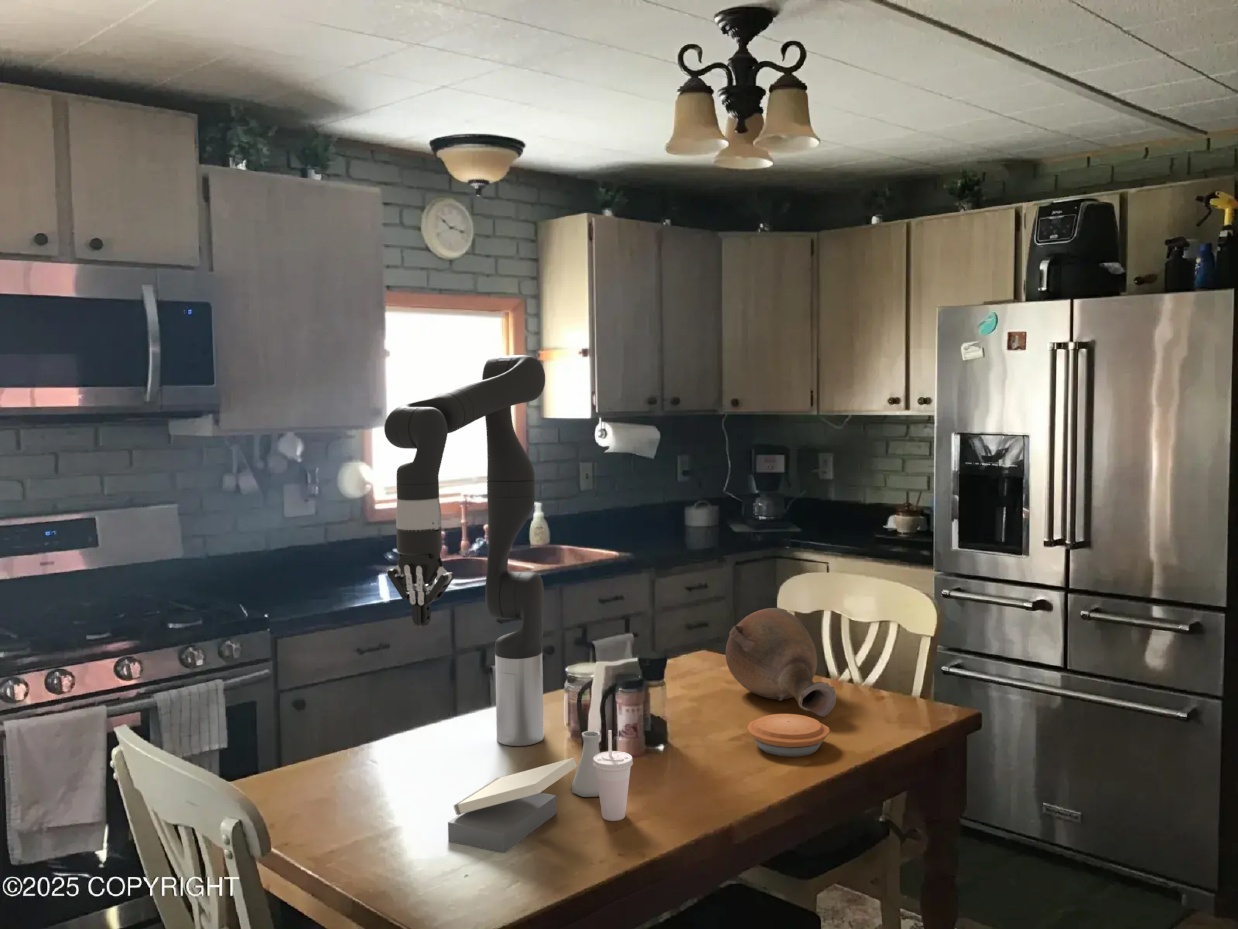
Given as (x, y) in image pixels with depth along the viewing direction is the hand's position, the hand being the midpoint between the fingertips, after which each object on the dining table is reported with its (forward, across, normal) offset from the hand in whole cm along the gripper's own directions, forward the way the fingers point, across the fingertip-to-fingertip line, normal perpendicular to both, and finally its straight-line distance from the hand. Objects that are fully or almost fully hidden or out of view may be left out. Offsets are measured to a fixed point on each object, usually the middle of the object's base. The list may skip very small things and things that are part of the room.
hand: (421, 625), depth 180 cm
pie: (+29, +50, +47) cm, 75 cm away
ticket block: (+29, +21, -7) cm, 36 cm away
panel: (+25, +16, -7) cm, 30 cm away
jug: (+30, +41, +74) cm, 89 cm away
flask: (+29, +26, +12) cm, 41 cm away
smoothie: (+29, +34, +4) cm, 45 cm away
